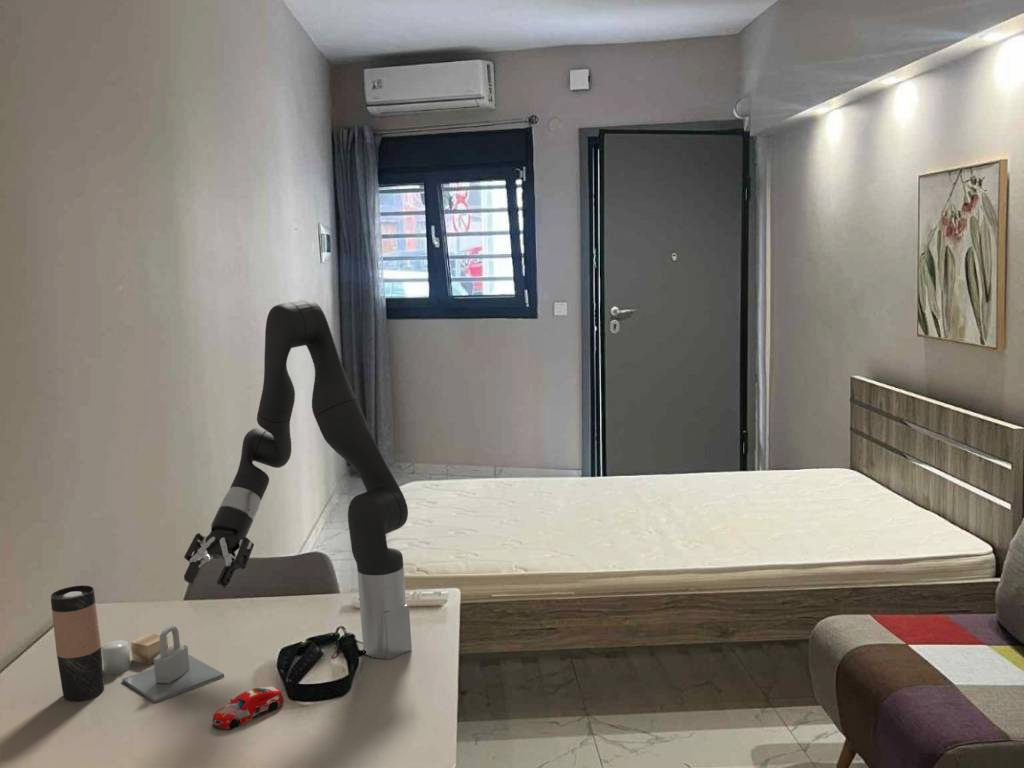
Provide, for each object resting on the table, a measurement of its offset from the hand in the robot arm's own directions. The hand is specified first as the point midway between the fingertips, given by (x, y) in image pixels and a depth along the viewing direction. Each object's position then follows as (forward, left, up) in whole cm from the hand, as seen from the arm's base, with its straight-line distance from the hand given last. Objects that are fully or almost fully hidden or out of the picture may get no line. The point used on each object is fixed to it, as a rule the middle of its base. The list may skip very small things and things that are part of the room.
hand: (204, 583), depth 196 cm
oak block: (+11, +8, -16) cm, 21 cm away
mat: (-3, +10, -16) cm, 19 cm away
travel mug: (+5, +24, -16) cm, 29 cm away
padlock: (-3, +10, -15) cm, 18 cm away
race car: (-28, +8, -16) cm, 34 cm away
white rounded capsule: (+11, +15, -16) cm, 24 cm away
